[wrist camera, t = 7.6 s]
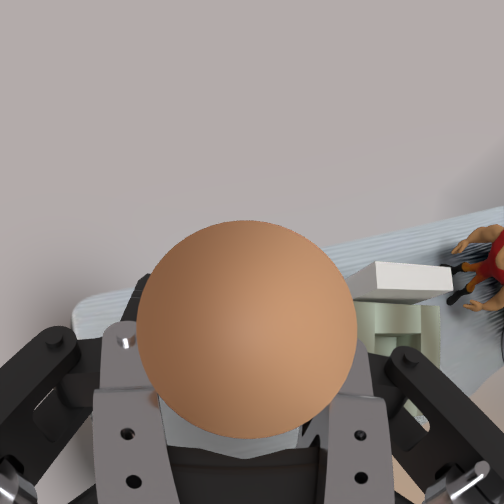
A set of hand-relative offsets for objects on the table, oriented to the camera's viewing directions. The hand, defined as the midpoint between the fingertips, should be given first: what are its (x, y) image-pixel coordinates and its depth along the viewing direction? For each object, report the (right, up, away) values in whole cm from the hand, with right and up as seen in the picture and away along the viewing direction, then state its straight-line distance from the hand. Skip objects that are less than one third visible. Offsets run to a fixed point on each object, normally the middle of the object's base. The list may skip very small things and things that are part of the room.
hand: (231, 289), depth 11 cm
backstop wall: (+12, -3, +18) cm, 22 cm away
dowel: (-1, -3, +3) cm, 4 cm away
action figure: (+25, -3, +20) cm, 32 cm away
